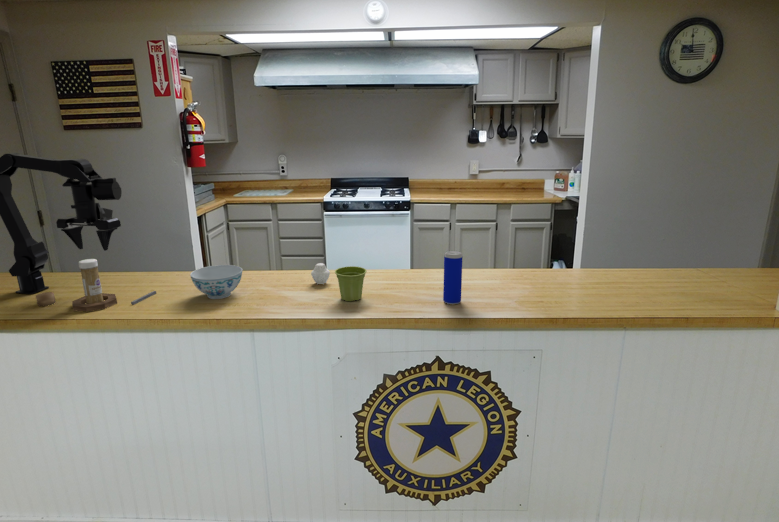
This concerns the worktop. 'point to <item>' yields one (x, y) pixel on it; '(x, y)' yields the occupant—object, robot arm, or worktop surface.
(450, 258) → the beverage can
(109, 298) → the walnut ring
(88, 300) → the sprinkles bottle
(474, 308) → the worktop surface
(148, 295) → the grey rectangular bar
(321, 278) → the white owl figurine
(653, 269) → the worktop surface
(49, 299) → the small wooden bead
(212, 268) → the chinaware
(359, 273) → the plant pot
